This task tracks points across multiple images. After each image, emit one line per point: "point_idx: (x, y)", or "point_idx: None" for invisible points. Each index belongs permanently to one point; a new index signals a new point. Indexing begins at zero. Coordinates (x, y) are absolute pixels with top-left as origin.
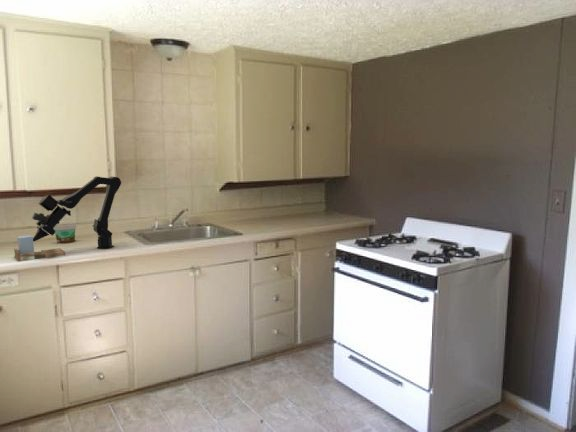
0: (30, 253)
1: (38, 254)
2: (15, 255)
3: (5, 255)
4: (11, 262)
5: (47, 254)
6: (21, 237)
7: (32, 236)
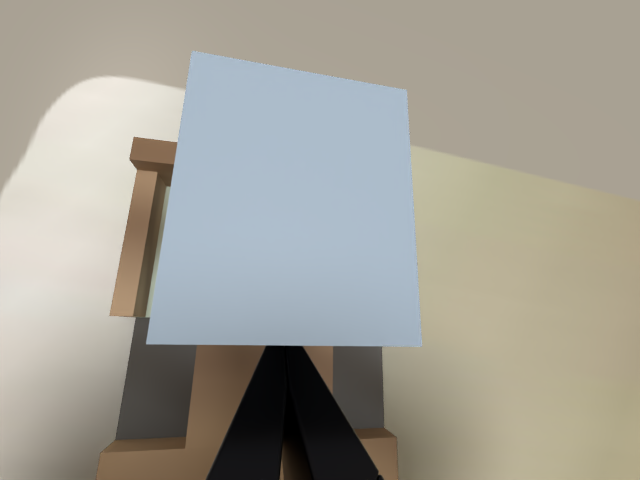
0: (118, 274)
1: (194, 374)
2: None
3: (462, 163)
4: (158, 129)
5: (96, 477)
6: (249, 110)
7: (197, 343)
